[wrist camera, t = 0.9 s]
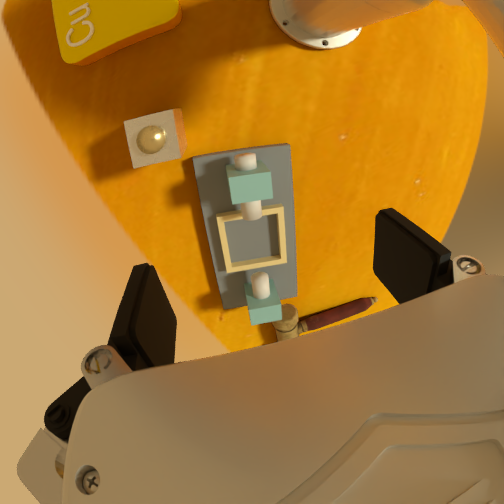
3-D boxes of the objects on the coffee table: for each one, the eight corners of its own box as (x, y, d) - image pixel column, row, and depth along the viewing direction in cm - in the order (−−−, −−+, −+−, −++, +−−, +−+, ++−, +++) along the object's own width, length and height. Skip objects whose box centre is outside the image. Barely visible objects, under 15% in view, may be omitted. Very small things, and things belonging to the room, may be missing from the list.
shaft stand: (193, 156, 34) (188, 170, 27) (286, 143, 34) (305, 153, 28) (223, 303, 46) (226, 336, 40) (294, 290, 47) (307, 321, 40)
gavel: (385, 285, 46) (380, 323, 51) (373, 272, 50) (369, 309, 55) (274, 325, 44) (281, 360, 49) (267, 307, 48) (275, 343, 53)
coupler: (142, 116, 30) (121, 122, 22) (181, 107, 30) (171, 109, 23) (149, 154, 32) (131, 170, 25) (187, 145, 33) (180, 159, 25)
